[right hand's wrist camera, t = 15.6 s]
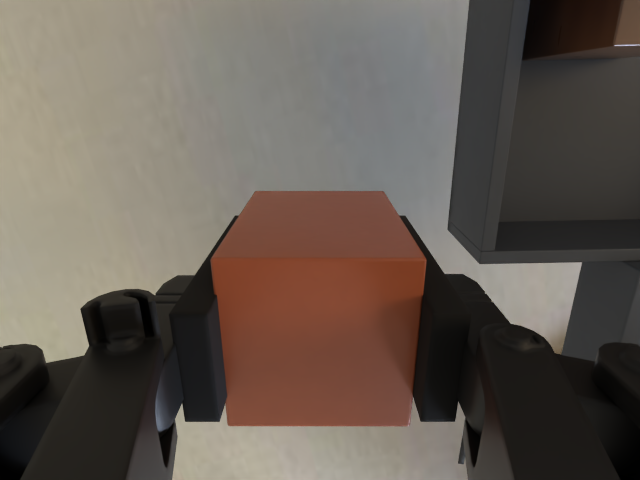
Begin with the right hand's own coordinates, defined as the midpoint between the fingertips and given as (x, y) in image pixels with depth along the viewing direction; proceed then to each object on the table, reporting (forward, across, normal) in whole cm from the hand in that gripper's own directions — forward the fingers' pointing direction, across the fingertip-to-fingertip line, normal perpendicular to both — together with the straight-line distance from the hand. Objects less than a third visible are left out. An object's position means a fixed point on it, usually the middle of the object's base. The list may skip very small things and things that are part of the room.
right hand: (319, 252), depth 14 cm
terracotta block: (0, 0, 0) cm, 0 cm away
